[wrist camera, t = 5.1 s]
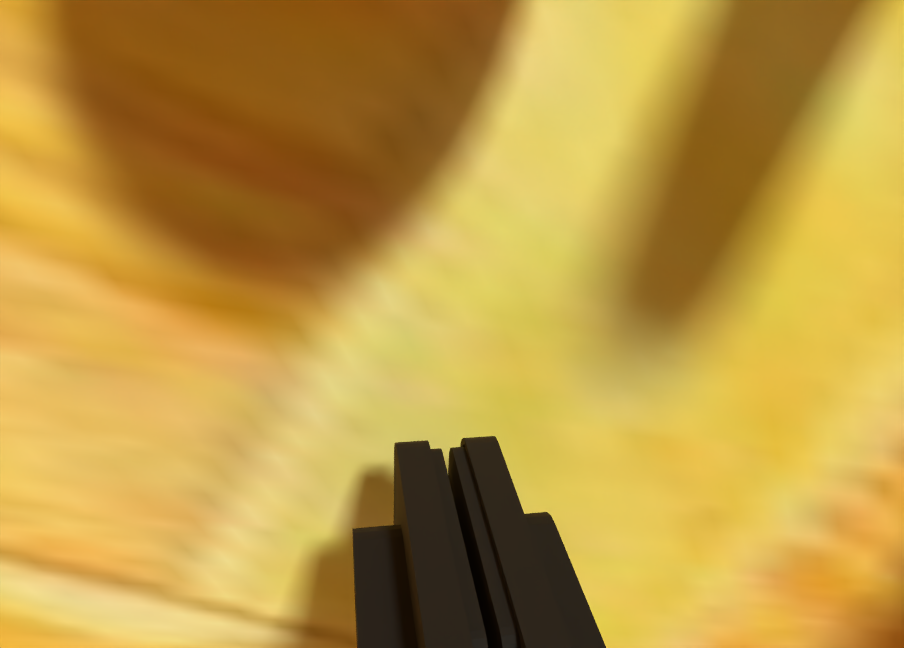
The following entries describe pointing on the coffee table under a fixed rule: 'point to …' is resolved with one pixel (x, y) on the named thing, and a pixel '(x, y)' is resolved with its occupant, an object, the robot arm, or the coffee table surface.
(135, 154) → the coffee table surface
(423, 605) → the robot arm
